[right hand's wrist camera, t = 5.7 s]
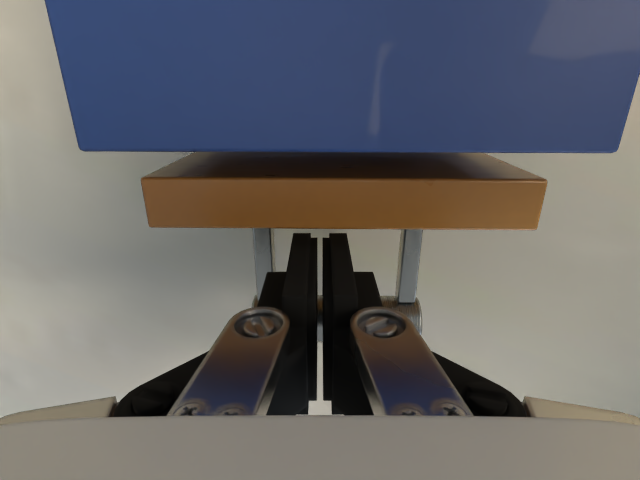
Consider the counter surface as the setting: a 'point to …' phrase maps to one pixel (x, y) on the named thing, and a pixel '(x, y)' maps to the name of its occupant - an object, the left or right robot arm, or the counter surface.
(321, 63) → the cabinet
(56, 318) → the counter surface
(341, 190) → the drawer
